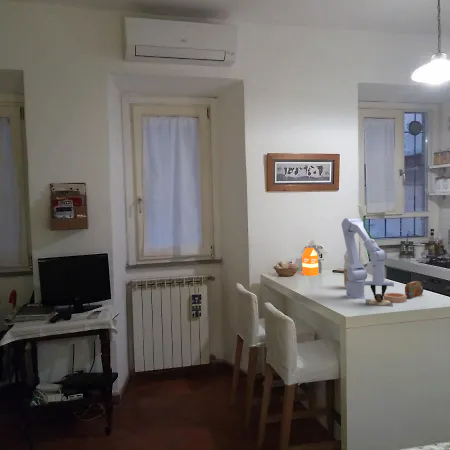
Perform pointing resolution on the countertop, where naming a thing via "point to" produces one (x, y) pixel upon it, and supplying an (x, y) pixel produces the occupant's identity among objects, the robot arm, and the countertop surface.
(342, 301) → the countertop surface
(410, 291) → the tin
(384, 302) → the lid
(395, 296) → the bowl
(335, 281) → the countertop surface
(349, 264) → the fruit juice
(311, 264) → the orange juice
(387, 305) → the mat
